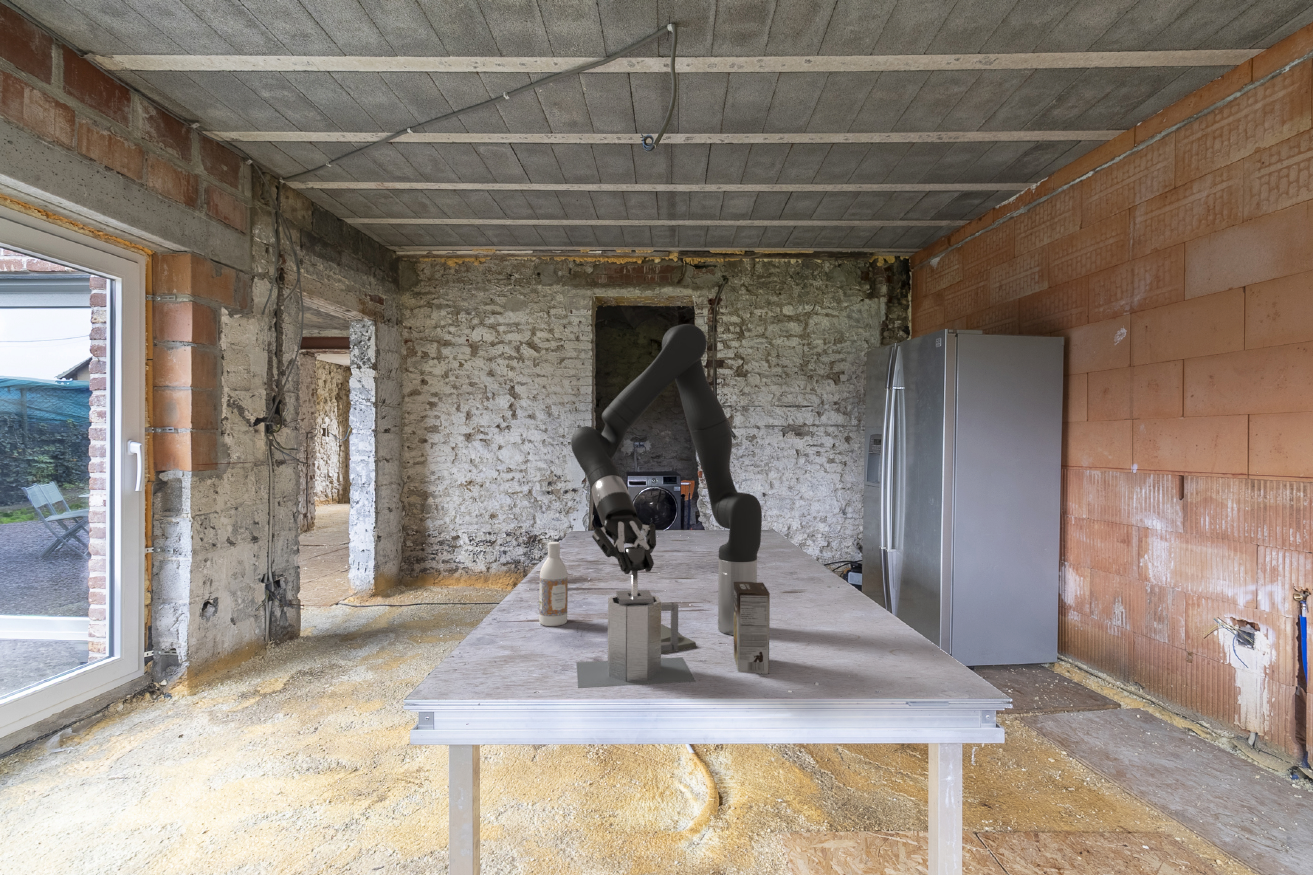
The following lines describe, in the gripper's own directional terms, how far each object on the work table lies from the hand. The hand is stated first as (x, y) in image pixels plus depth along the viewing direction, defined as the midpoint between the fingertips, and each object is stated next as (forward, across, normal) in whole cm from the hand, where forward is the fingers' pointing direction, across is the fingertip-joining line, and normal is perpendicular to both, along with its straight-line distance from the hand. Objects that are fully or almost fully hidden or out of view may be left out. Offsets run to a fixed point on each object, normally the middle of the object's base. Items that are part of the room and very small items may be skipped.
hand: (639, 570), depth 118 cm
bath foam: (-15, +3, -44) cm, 46 cm away
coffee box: (+18, -23, -11) cm, 31 cm away
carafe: (+13, -2, -15) cm, 20 cm away
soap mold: (+2, -14, -28) cm, 31 cm away
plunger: (+11, 0, -14) cm, 18 cm away
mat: (+13, 0, -16) cm, 21 cm away
